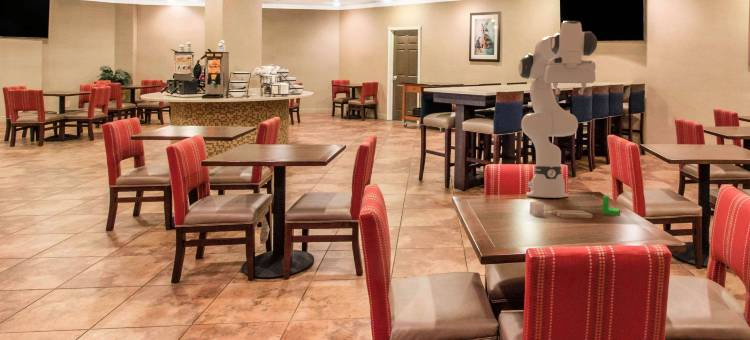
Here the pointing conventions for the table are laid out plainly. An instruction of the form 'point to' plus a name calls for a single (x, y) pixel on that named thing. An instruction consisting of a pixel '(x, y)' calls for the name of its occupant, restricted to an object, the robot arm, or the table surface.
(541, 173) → the robot arm
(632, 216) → the table surface
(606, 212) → the mechanical part
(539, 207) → the connector
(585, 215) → the birch board
